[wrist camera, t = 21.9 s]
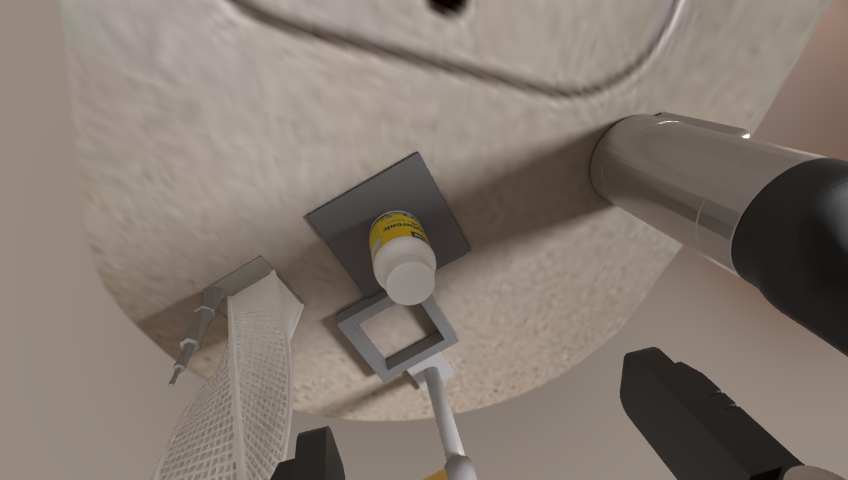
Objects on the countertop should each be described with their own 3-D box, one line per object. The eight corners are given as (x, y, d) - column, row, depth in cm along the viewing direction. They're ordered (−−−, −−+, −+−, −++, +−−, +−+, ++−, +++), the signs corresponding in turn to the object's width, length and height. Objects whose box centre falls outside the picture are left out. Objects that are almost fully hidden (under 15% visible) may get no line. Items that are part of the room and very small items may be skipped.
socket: (416, 270, 44) (443, 348, 33) (472, 360, 51) (511, 449, 40) (336, 314, 44) (336, 406, 33) (403, 397, 51) (422, 496, 40)
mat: (418, 151, 38) (418, 152, 38) (470, 248, 44) (471, 250, 44) (307, 214, 39) (306, 216, 39) (372, 302, 44) (372, 305, 44)
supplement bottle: (429, 215, 41) (454, 261, 32) (413, 262, 43) (432, 318, 34) (375, 202, 39) (387, 248, 31) (362, 252, 41) (368, 308, 33)
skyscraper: (274, 246, 40) (172, 580, 15) (323, 303, 44) (305, 645, 19) (201, 289, 41) (-11, 681, 16) (256, 342, 44) (154, 726, 19)
